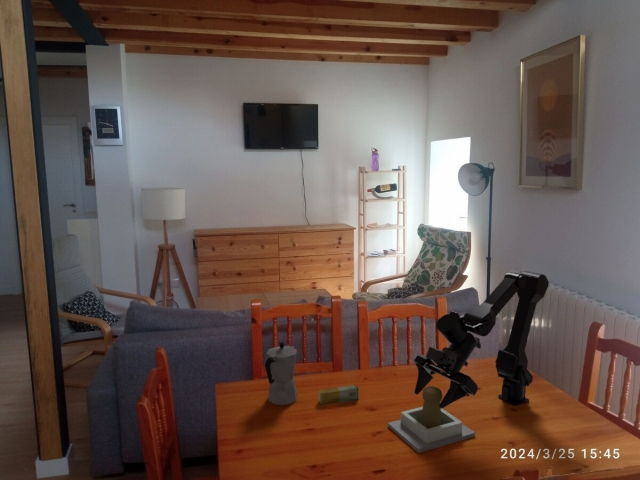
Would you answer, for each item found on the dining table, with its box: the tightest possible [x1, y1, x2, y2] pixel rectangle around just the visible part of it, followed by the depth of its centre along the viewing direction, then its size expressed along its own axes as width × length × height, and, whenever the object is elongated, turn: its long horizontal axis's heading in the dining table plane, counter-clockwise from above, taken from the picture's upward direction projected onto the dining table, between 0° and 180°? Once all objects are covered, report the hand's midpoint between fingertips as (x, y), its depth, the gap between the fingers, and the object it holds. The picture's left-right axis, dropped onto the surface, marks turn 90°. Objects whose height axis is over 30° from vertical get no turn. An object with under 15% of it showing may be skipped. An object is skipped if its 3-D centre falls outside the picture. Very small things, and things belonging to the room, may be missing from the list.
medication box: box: [318, 384, 360, 406], centre depth 148 cm, size 12×3×4 cm, turn 106°
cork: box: [420, 385, 443, 429], centre depth 130 cm, size 6×6×11 cm
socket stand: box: [387, 406, 476, 454], centre depth 131 cm, size 18×14×4 cm
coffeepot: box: [264, 341, 298, 406], centre depth 148 cm, size 15×9×18 cm, turn 153°
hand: (427, 400), depth 129 cm, fingers open, 9 cm apart
